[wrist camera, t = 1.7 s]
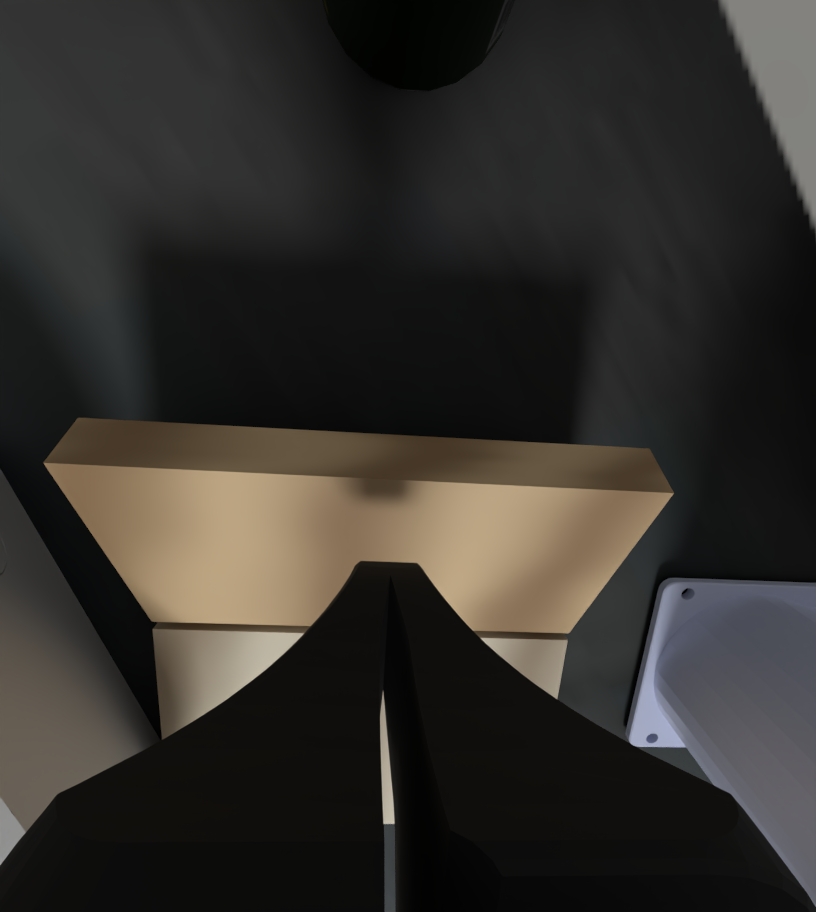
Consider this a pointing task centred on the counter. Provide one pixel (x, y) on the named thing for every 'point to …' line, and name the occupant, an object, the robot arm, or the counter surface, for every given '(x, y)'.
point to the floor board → (258, 646)
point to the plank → (354, 518)
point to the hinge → (52, 683)
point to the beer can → (417, 37)
